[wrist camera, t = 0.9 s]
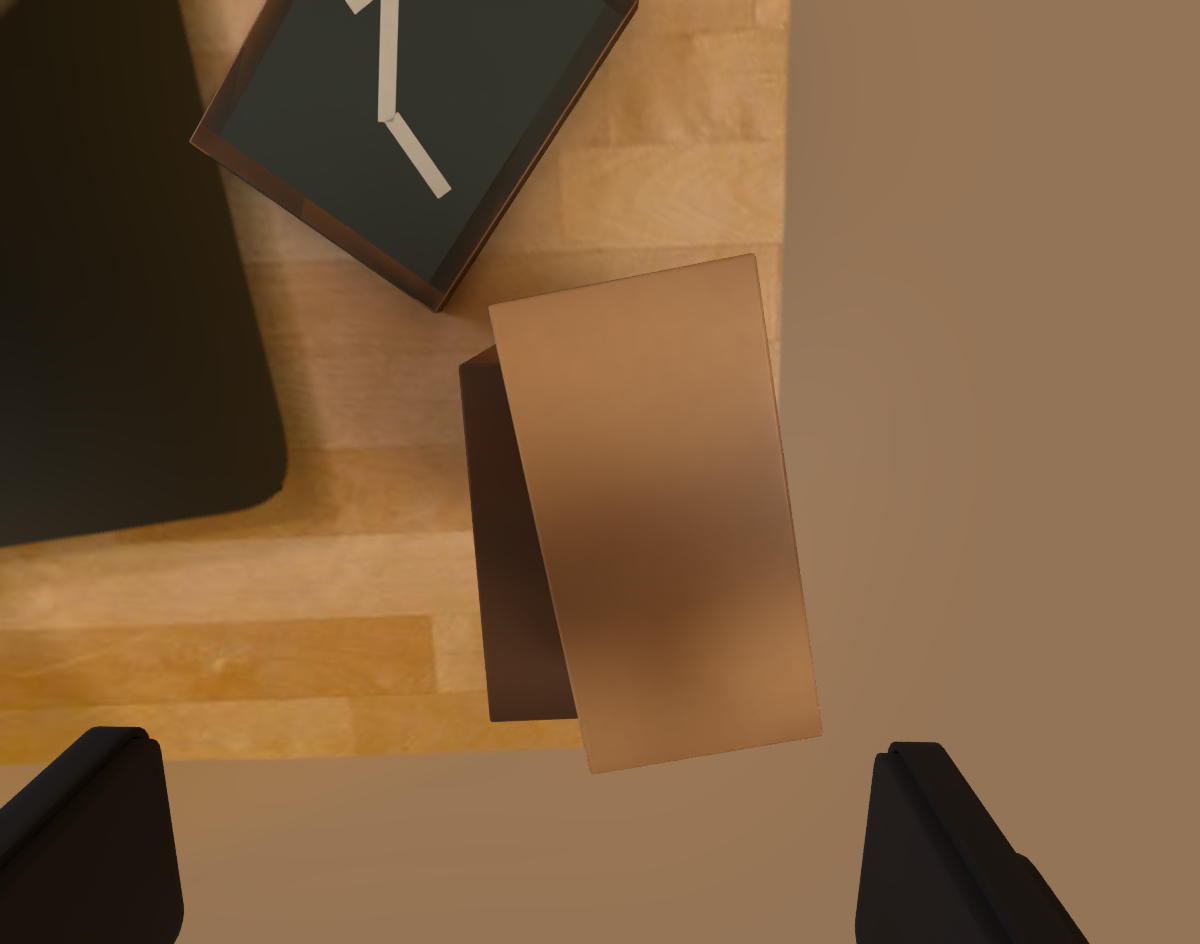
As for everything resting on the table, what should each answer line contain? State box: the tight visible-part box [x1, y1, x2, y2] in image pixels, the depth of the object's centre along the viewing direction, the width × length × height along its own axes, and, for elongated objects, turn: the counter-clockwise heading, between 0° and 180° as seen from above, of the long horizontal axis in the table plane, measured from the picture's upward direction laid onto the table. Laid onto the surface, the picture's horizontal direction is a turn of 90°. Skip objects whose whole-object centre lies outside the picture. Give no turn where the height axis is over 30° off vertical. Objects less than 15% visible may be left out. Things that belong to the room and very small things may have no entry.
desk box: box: [459, 344, 578, 722], centre depth 28 cm, size 9×7×18 cm
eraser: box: [488, 253, 822, 774], centre depth 16 cm, size 9×4×4 cm, turn 11°
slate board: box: [190, 0, 639, 314], centre depth 32 cm, size 15×12×1 cm
